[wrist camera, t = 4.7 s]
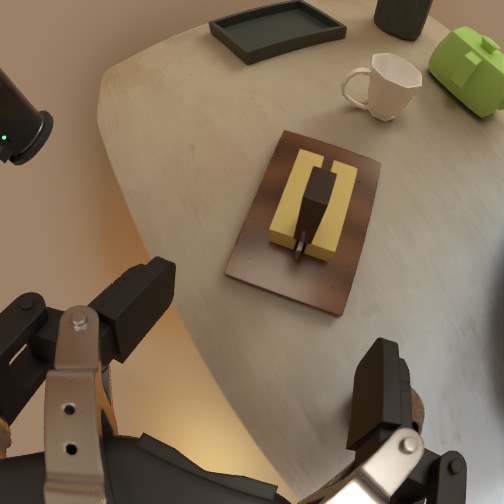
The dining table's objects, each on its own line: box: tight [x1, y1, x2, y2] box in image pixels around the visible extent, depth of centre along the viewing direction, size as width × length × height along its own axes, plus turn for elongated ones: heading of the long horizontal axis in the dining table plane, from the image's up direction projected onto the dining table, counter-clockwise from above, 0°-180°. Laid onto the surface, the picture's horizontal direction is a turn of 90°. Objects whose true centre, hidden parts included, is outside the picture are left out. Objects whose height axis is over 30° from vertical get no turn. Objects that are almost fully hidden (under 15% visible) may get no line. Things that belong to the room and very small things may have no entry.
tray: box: [209, 0, 347, 65], centre depth 39 cm, size 20×14×3 cm
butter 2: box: [304, 160, 358, 261], centre depth 27 cm, size 9×2×4 cm, turn 159°
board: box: [224, 130, 381, 317], centre depth 30 cm, size 18×12×1 cm, turn 159°
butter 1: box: [269, 149, 324, 250], centre depth 28 cm, size 9×2×4 cm, turn 159°
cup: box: [341, 53, 422, 121], centre depth 30 cm, size 7×10×8 cm
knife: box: [293, 166, 337, 262], centre depth 23 cm, size 4×2×12 cm, turn 159°
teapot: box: [429, 27, 504, 117], centre depth 28 cm, size 18×20×13 cm
